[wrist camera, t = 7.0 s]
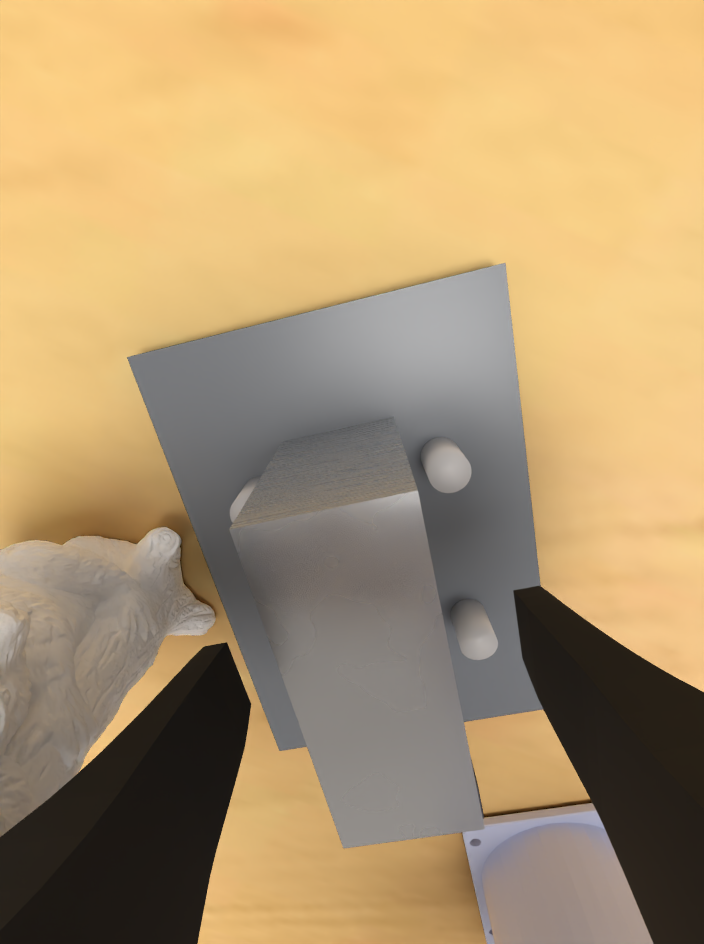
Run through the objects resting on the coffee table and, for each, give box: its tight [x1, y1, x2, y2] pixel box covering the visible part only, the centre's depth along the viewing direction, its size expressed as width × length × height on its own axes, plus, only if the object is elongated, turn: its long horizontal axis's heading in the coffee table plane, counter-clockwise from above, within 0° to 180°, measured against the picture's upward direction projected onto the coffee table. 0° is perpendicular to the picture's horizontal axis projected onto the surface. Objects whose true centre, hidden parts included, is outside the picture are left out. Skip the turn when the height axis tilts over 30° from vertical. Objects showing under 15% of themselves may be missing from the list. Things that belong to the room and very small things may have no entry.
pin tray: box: [127, 263, 543, 751], centre depth 15 cm, size 16×11×3 cm
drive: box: [229, 417, 485, 848], centre depth 12 cm, size 9×4×6 cm, turn 13°
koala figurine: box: [0, 527, 216, 837], centre depth 11 cm, size 8×7×12 cm
